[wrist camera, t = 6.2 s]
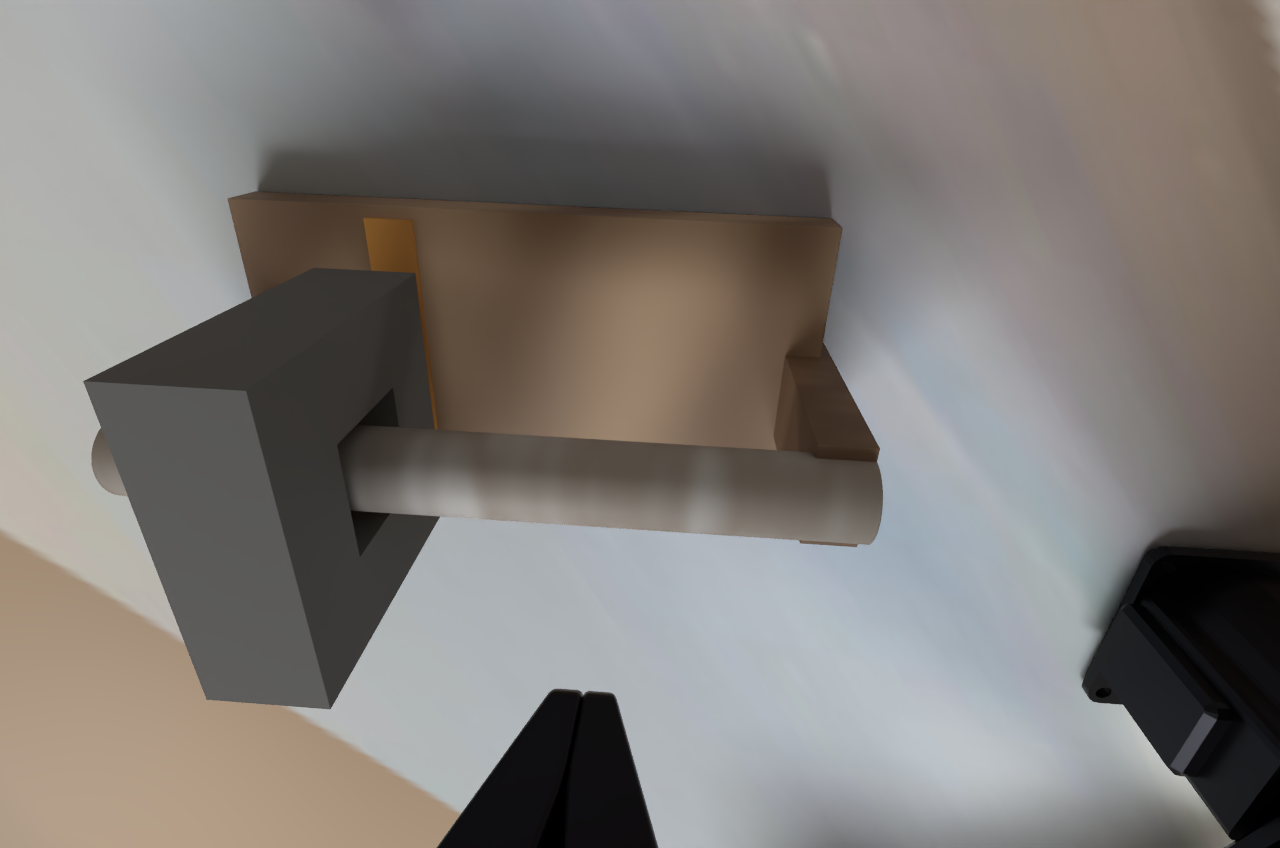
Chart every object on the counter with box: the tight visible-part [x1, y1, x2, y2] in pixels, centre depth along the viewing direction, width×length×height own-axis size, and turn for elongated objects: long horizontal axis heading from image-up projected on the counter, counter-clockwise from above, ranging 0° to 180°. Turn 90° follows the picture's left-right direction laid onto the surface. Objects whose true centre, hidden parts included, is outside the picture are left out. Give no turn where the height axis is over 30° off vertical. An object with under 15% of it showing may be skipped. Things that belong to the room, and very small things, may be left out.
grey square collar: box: [83, 268, 440, 709], centre depth 14 cm, size 2×7×7 cm, turn 178°
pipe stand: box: [92, 192, 883, 547], centre depth 16 cm, size 16×9×7 cm, turn 88°
